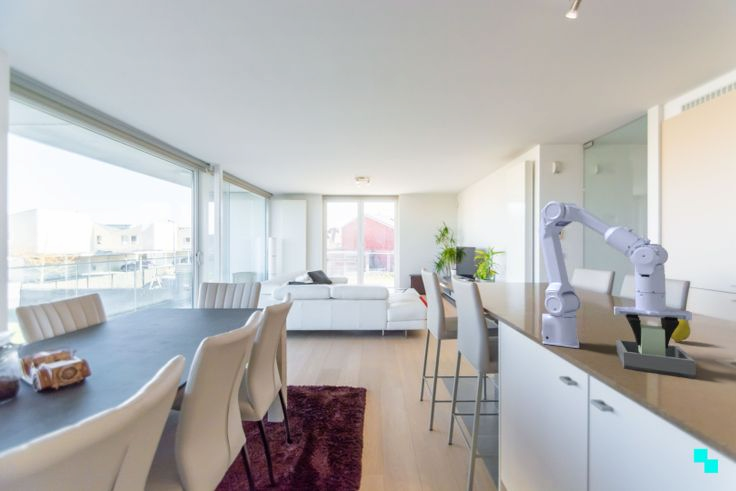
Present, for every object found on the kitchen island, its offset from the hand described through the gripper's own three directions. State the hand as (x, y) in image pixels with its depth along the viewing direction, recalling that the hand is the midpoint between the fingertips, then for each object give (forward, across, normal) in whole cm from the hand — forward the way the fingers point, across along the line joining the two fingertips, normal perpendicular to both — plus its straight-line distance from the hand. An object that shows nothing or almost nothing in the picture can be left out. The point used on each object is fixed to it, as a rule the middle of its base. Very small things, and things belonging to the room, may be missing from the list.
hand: (651, 345), depth 80 cm
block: (+2, 0, 0) cm, 2 cm away
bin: (+5, 0, 0) cm, 5 cm away
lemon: (+5, +11, +28) cm, 30 cm away
